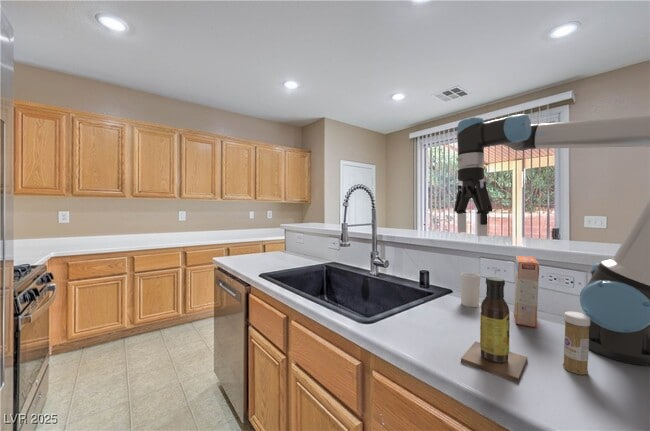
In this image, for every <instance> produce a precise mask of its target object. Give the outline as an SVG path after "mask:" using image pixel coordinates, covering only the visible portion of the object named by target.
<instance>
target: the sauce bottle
mask: <svg viewBox="0 0 650 431" xmlns="http://www.w3.org/2000/svg"><path fill="white" fill-rule="evenodd" d="M485 284H486V296H485V298H484V299H483V300H482V301H481V304H480V322H479V323H480V326H479V328H480V330H479V331H480V333H479V336H480V341H479V343H480V347H481V355H482V357H483V358H485V359H487V360H489V361H493V362H506V361H508V354H509V352H510V326H511V323H510V321H511V320H510V319H511V318H510V315H511V313H510V307H509V305H508V303H507V302H506V300H505V294H504V293H505V292H504V291H505V289H504V288H505V285H506V282H505V279H503V278H501V277H496V276H487V277H486V278H485Z"/></svg>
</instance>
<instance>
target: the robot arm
mask: <svg viewBox="0 0 650 431" xmlns="http://www.w3.org/2000/svg"><path fill="white" fill-rule="evenodd" d="M456 139H457V142H456V143H457V158H456V162H457V168H458V170H457V181H459V182H462V184H458V185H457V193H456V197H455V198H456V199H455V203H454V209H453V211H454V212H455V213H456V215H457V216H456V217H457V220H456V221H457V233H460V234H461V233H467V207H468V204H469V202H470V200H471V199H472V202H473V204H474V205H475V208H476V210H477V211H476V236H477V237H488V235H489V233H488V229H489V228H488V214H490V212H492V211H493V206H492V203H491V199H490V195H489V192H488V189H487V182H486V180H484V179H485V168H484V166H485V152H484V151H485V148H489V147H495V146H501V145H502V146H505V147H508V148H510V149H512V150H514V151H520V152H521V151H527V150H536V149H537V150H539V149H541V150H542V149H590V148H591V149H592V148H633V147H634V148H637V147H638V148H639V147H640V148H641V147H642V148H643V147H644V148H645V147H650V114H649V115H638V116H626V117H625V116H624V117H612V118H600V119H599V118H598V119H586V120H573V121H572V120H571V121H560V122H547V123H535V124H534V123H533V124H532V120H531V119H530V116H529V115H528V114H527V113H522V114H521V113H520V114H512V115H509V116H506V117H502V118H498V119H494V120H490V121H486V122H485V121H484V119H483V118H482V117H480V116H479V117H478V116H473V117H467V118H463V119H462V120H460V121H459V122H458V123H457V133H456ZM590 275H591V278H590V279H589V281H588V283H587V284H586V286H584V287H582V289H581V291H580V295H579V304H580V307H581V309H582V311H583V312H584V313H583V314H585V315H587V316H589V317H590V325H589V351H592V352H594V353H596V354H599V355H600V356H604V357H605V358H609V359H613V360H616V361H619V362H623V363H628V364H633V365H638V366H647V367H649V366H650V197H648V200H647V201H646V202H645V205H644V207H643V208H642V210H641V211H640V213H639V215H637V218H636V219H635V221H634V223H633V224H632V226H631V228H630V229H629V231H628V233H627V234H626V236H625V238H624V240H623V241H622V243H621V245H620V246H619V248H618V249H617V251H616V253H615V254H614V256H613V257H612V258H609V259H605V260H601V261H600V263H599V262H598V263H597V262H596V263H594V264H592V266H591V270H590Z"/></svg>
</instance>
